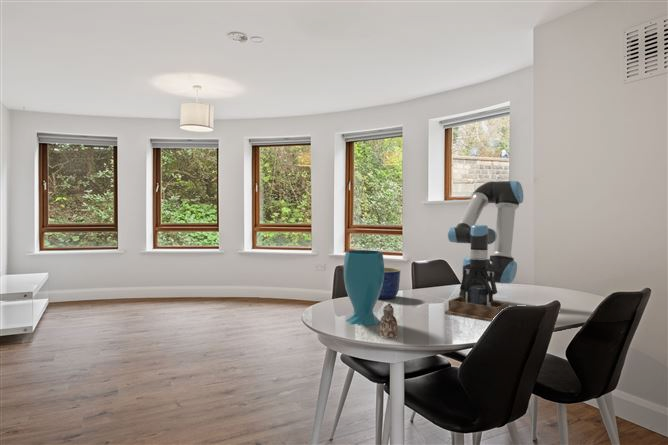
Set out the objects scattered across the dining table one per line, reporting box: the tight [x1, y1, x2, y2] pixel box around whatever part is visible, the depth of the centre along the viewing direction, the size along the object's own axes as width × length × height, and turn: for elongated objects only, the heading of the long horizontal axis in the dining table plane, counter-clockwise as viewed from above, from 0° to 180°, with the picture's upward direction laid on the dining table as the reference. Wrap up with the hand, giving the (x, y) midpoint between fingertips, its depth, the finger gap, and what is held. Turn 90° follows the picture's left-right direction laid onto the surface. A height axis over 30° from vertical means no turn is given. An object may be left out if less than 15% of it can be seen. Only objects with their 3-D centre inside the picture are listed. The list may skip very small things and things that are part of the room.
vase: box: [343, 249, 385, 326], centre depth 194 cm, size 17×17×30 cm
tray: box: [444, 296, 509, 322], centre depth 207 cm, size 25×16×6 cm, turn 50°
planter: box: [378, 266, 401, 300], centre depth 244 cm, size 17×17×15 cm
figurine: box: [378, 303, 399, 338], centre depth 173 cm, size 7×7×12 cm
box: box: [468, 286, 488, 306], centre depth 206 cm, size 8×6×11 cm
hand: (477, 307), depth 207 cm, fingers closed on box, 9 cm apart
